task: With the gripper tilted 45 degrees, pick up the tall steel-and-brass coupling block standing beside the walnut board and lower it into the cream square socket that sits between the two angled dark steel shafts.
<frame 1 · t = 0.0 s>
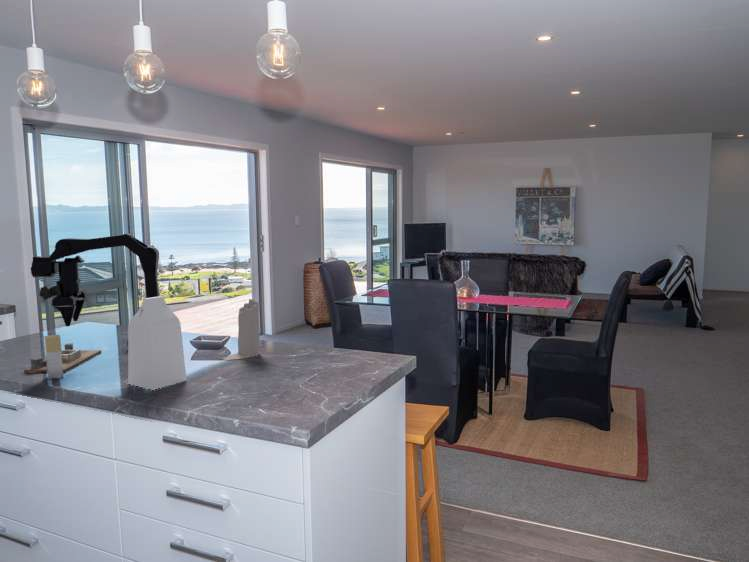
hand: (71, 323, 188), 15 cm above the counter, tool pointing down, fingers open, 9 cm apart
candle: (241, 357, 203), on the counter
milk: (157, 383, 172), on the counter
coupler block: (55, 377, 178), on the counter
shaft board: (65, 362, 196), on the counter
bolt: (149, 348, 218), on the counter
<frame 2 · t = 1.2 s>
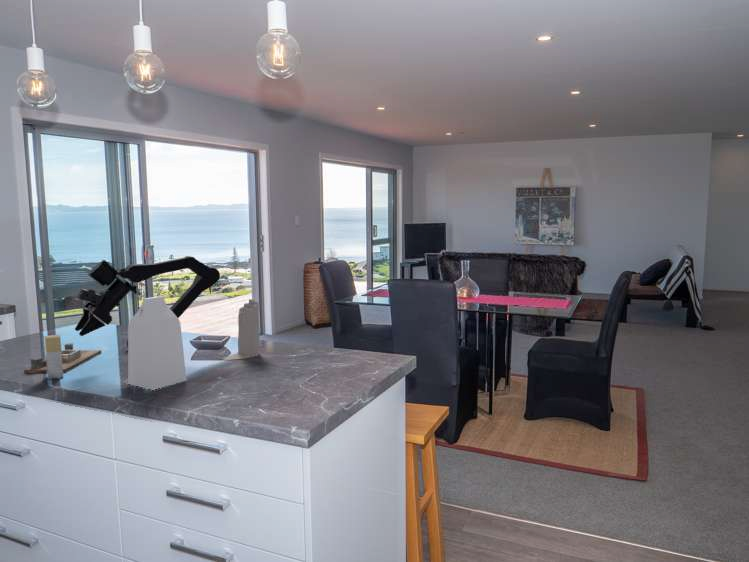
hand: (78, 332, 181), 13 cm above the counter, tool tilted 45°, fingers open, 9 cm apart
nothing on the counter moved.
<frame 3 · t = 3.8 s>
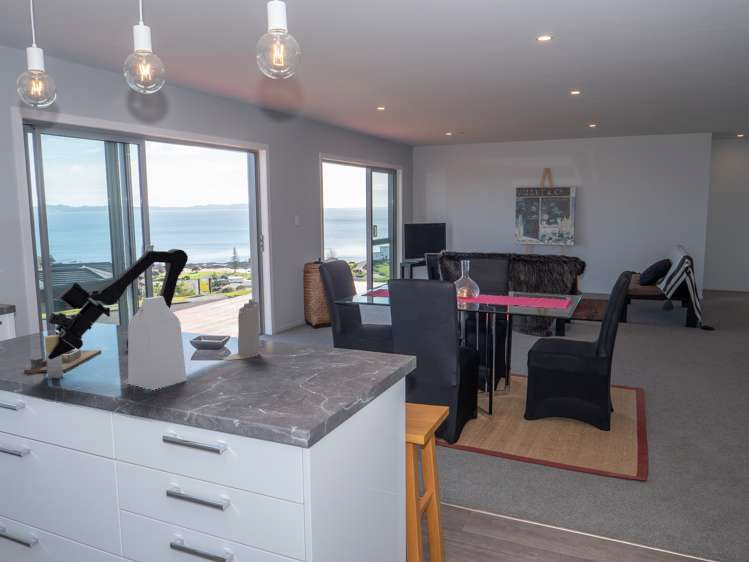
hand: (48, 357, 176), 7 cm above the counter, tool tilted 45°, fingers closed on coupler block, 4 cm apart
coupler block: (55, 377, 178), on the counter, touching gripper
everything else where it was.
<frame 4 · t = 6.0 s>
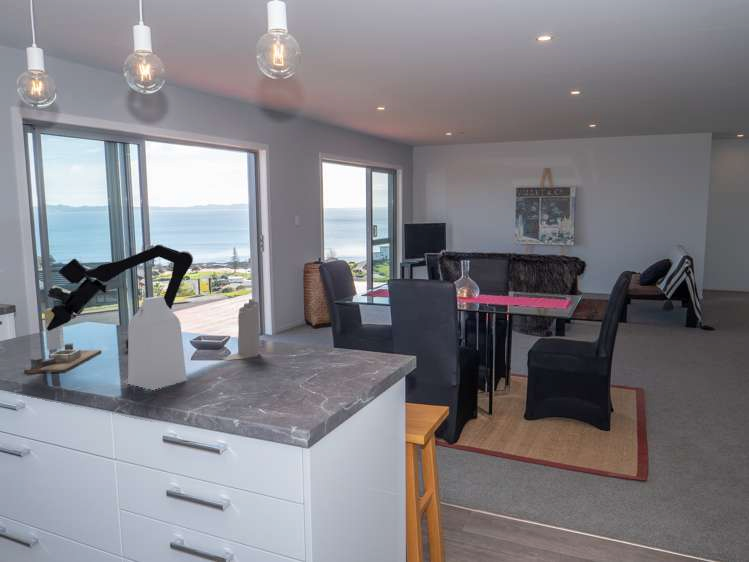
hand: (49, 328, 186), 13 cm above the counter, tool tilted 45°, fingers closed on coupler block, 4 cm apart
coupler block: (55, 348, 187), point 7 cm above the counter, touching gripper
everything else where it was.
when the fingers open (9 cm above the counter, at t = 8.0 s): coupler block drops 1 cm, resting on shaft board.
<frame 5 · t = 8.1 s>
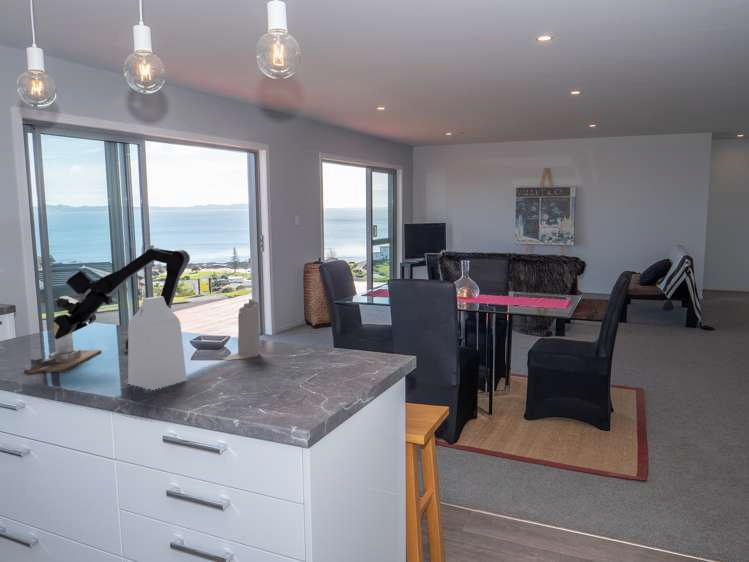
hand: (59, 336, 195), 9 cm above the counter, tool tilted 45°, fingers open, 5 cm apart
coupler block: (65, 359, 196), point 1 cm above the counter, touching shaft board
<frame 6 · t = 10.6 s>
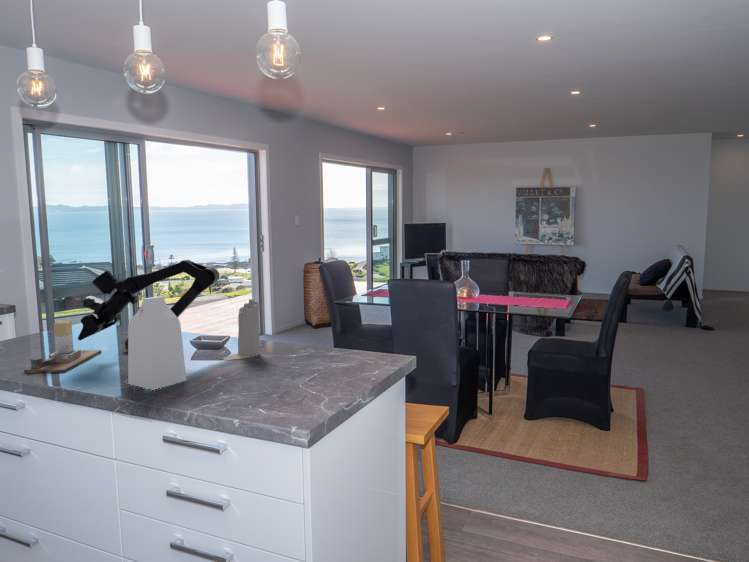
hand: (85, 336, 195), 9 cm above the counter, tool tilted 45°, fingers open, 9 cm apart
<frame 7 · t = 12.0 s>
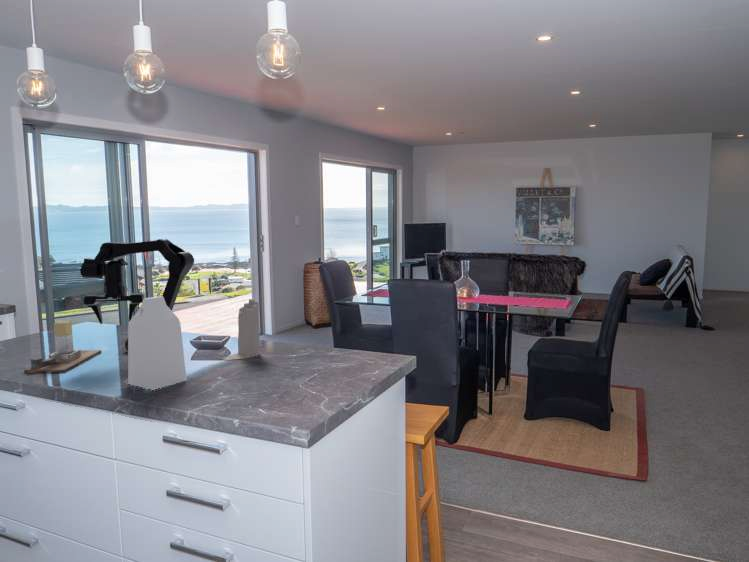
hand: (115, 323, 197), 13 cm above the counter, tool pointing down, fingers open, 9 cm apart
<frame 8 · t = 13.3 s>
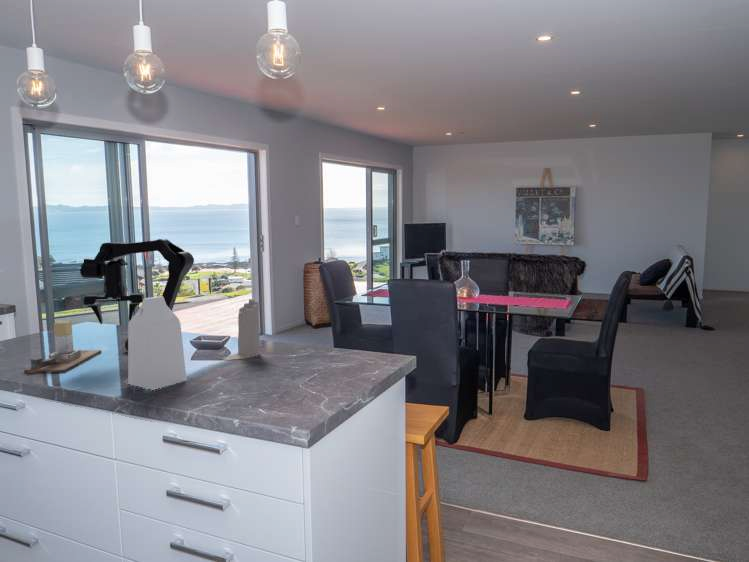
hand: (115, 323, 197), 13 cm above the counter, tool pointing down, fingers open, 9 cm apart
at the end: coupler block 0.0 cm off-centre on the shaft board, point 1.0 cm above the shaft board's base; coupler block tilted 0°; the gripper is holding nothing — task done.
